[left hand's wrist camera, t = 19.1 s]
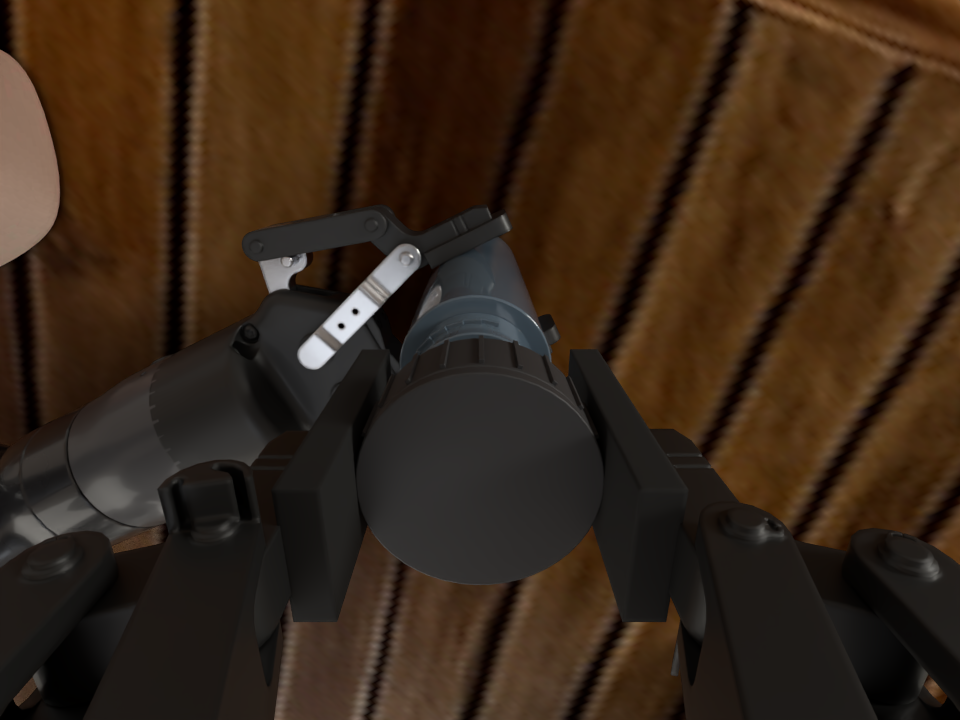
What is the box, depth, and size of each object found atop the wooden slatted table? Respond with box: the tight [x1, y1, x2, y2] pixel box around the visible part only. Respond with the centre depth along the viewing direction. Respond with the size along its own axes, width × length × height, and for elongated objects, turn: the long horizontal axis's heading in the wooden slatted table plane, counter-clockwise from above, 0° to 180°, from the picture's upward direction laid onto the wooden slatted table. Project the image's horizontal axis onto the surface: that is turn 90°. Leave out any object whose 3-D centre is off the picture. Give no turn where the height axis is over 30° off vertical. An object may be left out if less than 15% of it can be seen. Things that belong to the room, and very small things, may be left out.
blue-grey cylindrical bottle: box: [399, 237, 551, 370], centre depth 21 cm, size 5×5×16 cm
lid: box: [355, 335, 604, 585], centre depth 11 cm, size 5×5×2 cm
